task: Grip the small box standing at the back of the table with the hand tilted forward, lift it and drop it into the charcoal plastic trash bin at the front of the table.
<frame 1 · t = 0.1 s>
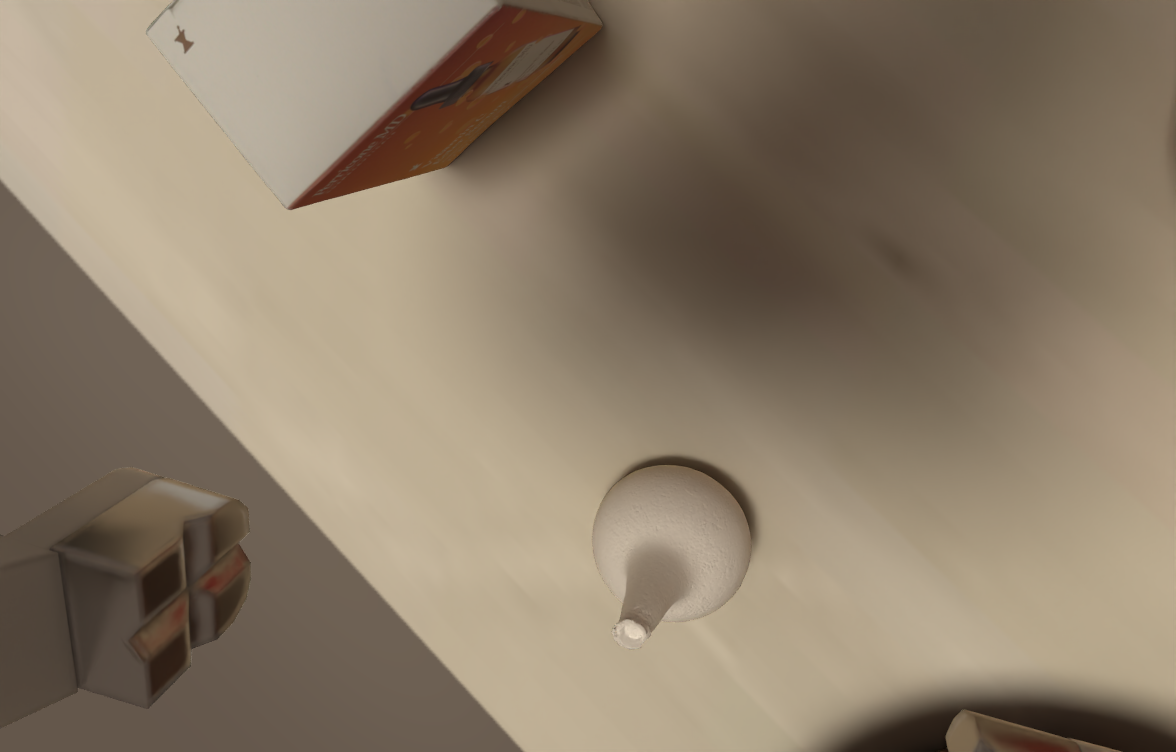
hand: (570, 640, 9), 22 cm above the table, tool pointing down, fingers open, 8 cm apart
small box: (477, 35, 28), on the table
garlic bulb: (676, 518, 33), on the table
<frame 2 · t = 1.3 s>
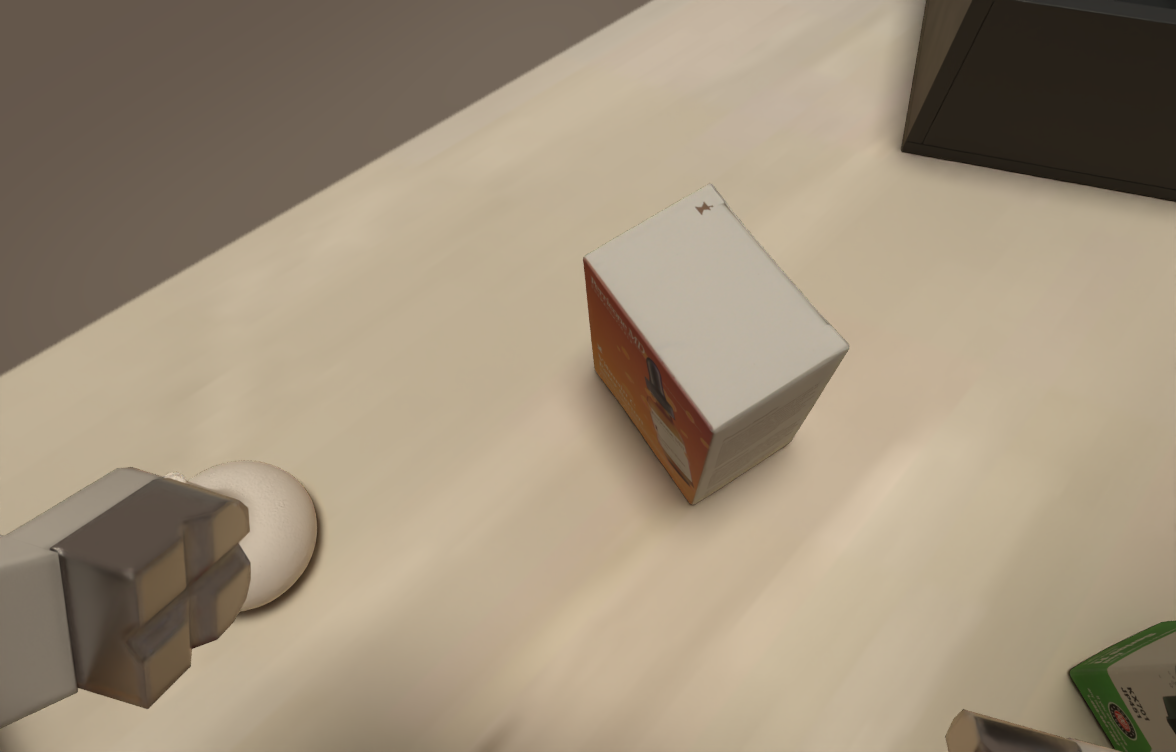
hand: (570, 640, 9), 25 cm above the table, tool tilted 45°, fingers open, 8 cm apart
small box: (690, 406, 36), on the table
trash bin: (1049, 73, 42), on the table
garlic bulb: (258, 541, 35), on the table
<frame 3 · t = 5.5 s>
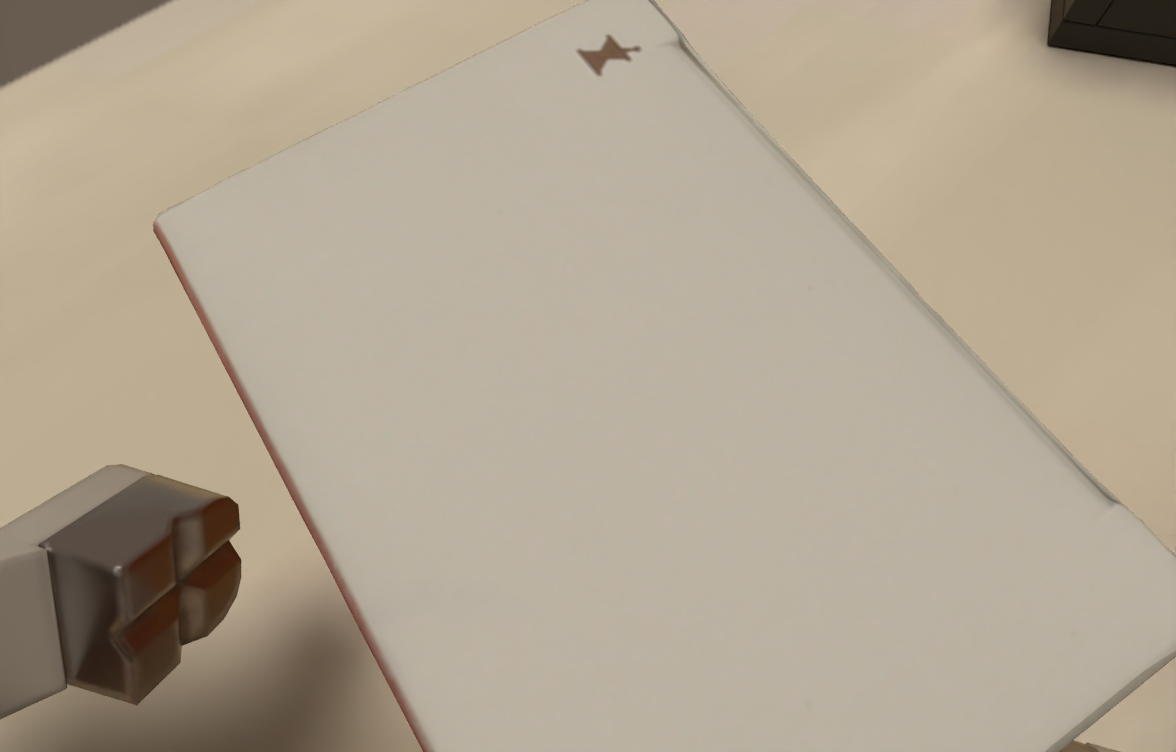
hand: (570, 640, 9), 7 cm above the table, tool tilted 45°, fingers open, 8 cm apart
small box: (616, 581, 16), on the table, touching gripper
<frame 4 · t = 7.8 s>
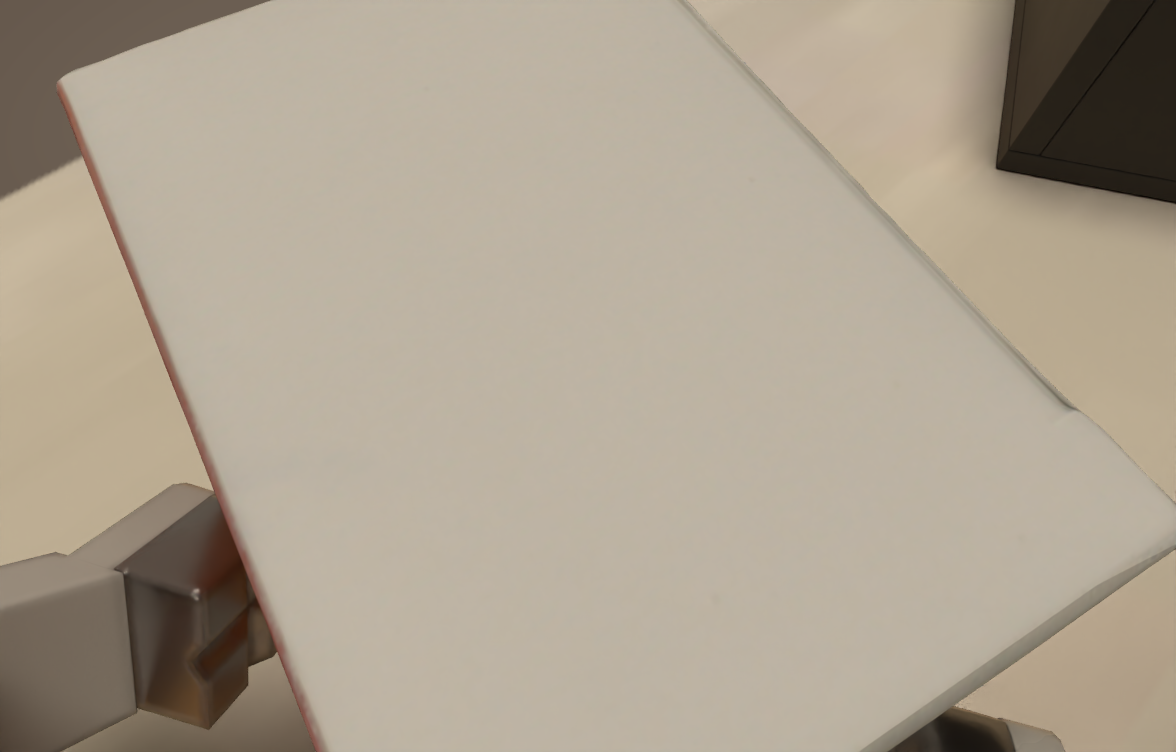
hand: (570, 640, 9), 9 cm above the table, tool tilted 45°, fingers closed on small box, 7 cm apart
small box: (568, 581, 15), point 3 cm above the table, touching gripper
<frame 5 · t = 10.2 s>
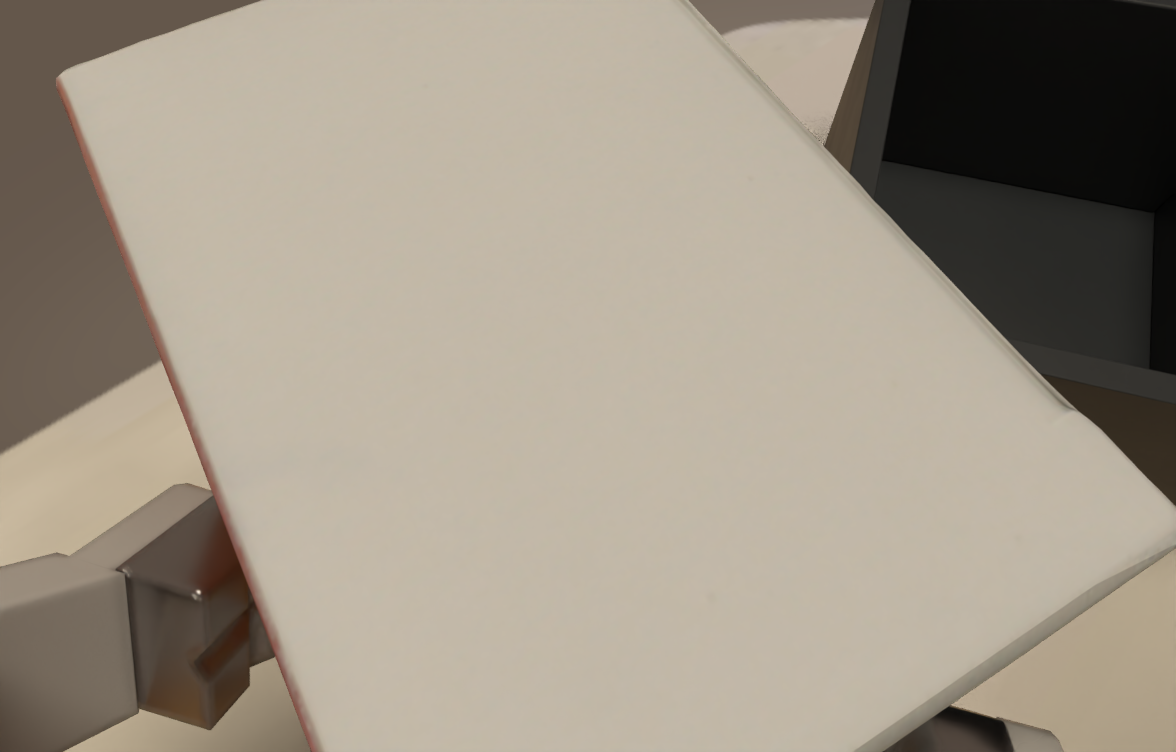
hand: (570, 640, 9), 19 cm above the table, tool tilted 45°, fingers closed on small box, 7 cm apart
small box: (567, 581, 15), point 12 cm above the table, touching gripper
trash bin: (971, 321, 31), on the table
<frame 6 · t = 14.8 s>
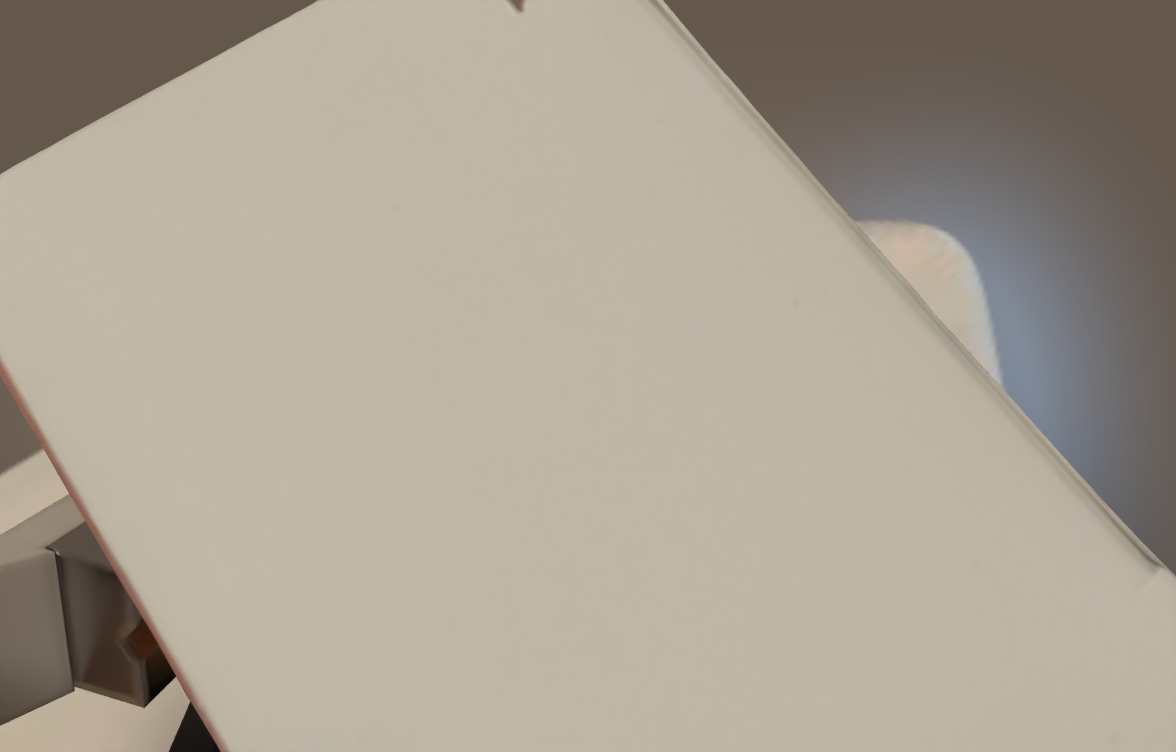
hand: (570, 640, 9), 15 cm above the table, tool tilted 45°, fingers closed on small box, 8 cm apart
small box: (560, 544, 15), point 9 cm above the table, touching gripper, trash bin
trash bin: (607, 698, 23), on the table
when the fingers open (17 cm above the table, at t = 15.5 s): small box drops 8 cm, resting on trash bin.
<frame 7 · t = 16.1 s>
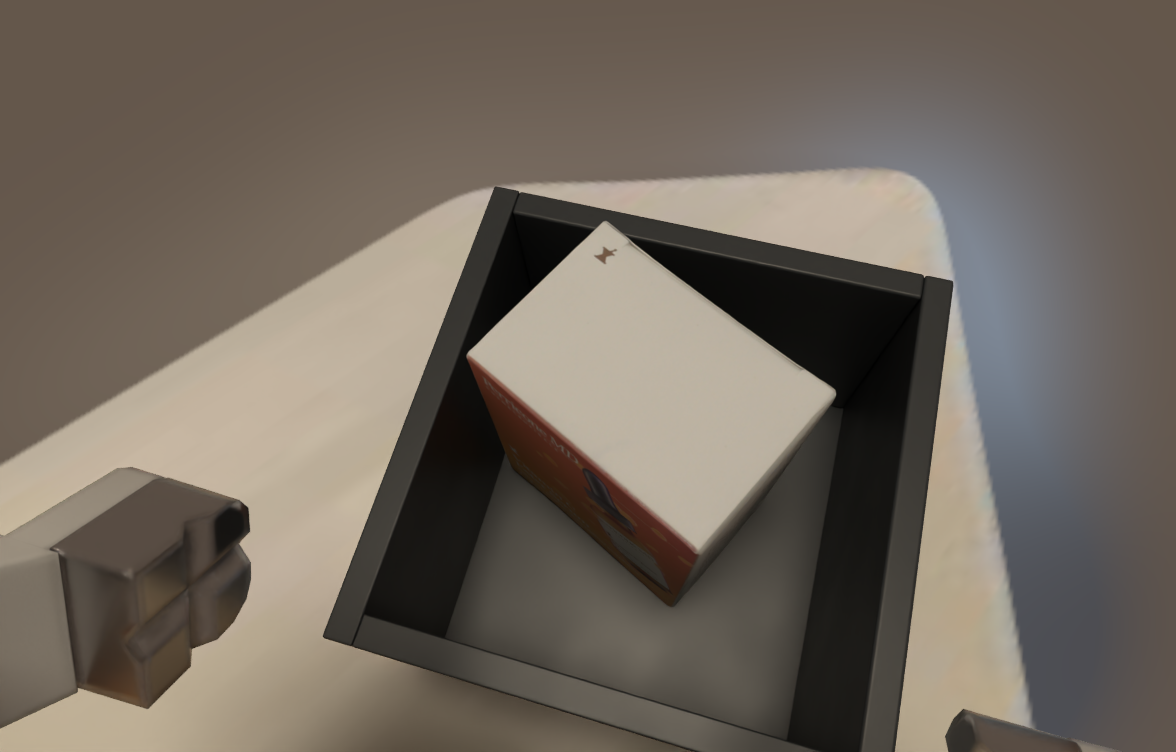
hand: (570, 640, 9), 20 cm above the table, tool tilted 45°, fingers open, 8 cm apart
small box: (637, 483, 30), point 1 cm above the table, touching trash bin
trash bin: (651, 524, 30), on the table
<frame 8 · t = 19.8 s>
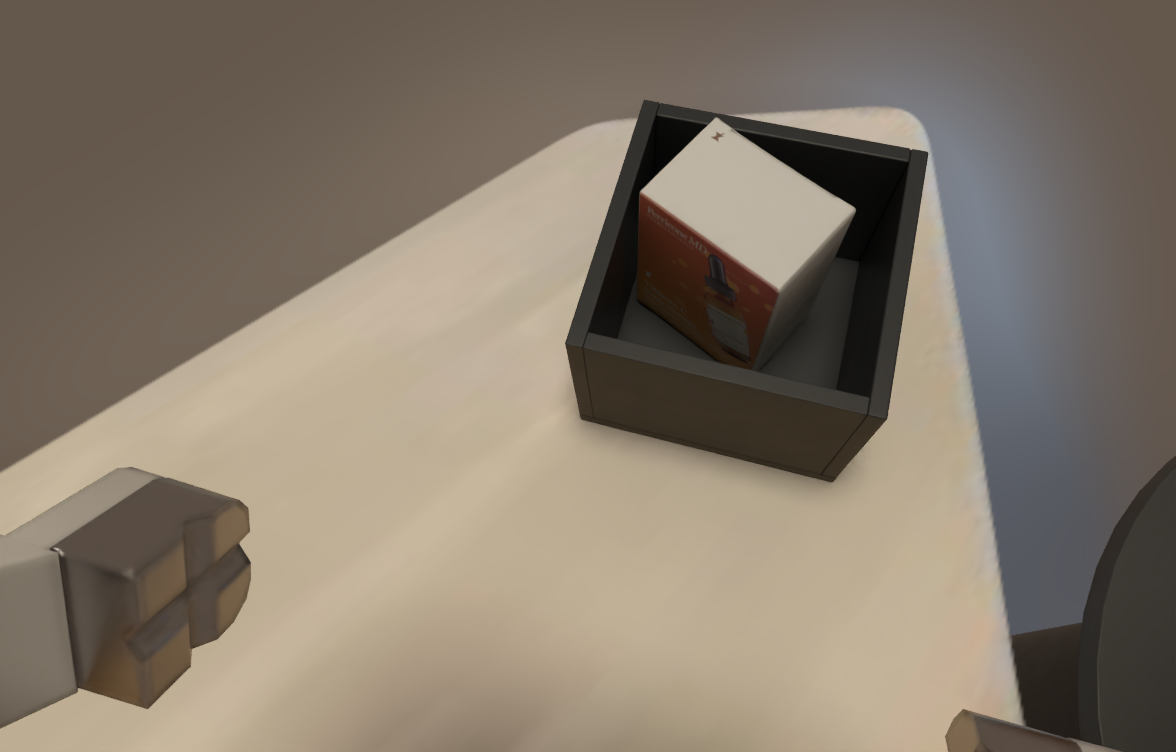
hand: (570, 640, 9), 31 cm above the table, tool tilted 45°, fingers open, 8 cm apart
small box: (721, 310, 44), point 1 cm above the table, touching trash bin
trash bin: (730, 337, 44), on the table
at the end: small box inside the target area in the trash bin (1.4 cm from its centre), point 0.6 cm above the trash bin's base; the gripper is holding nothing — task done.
